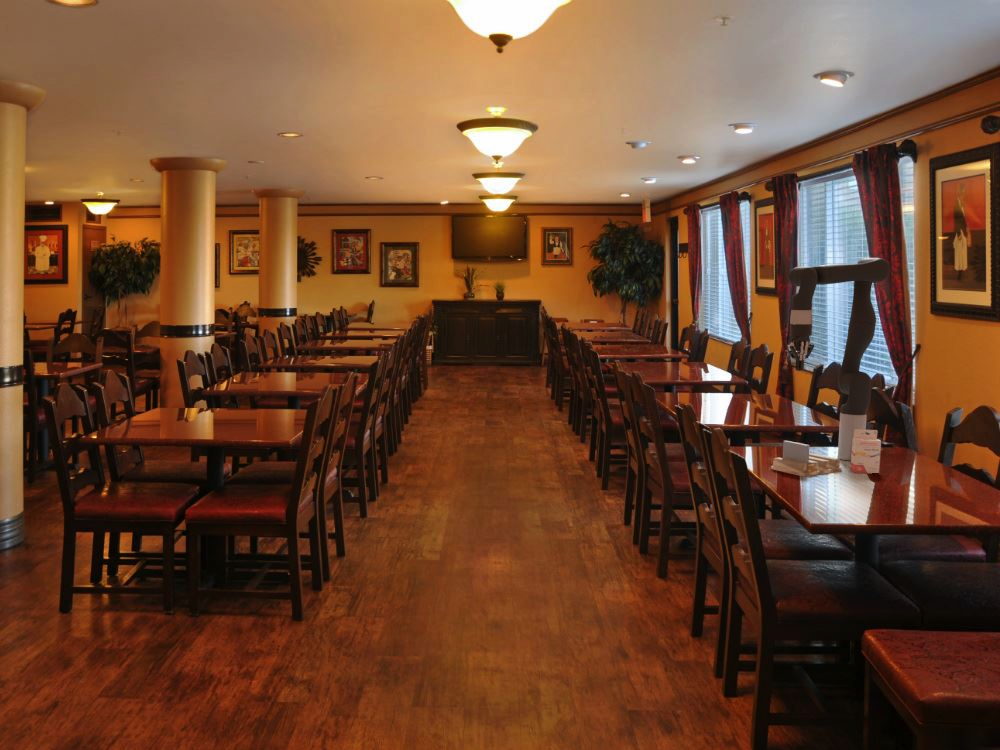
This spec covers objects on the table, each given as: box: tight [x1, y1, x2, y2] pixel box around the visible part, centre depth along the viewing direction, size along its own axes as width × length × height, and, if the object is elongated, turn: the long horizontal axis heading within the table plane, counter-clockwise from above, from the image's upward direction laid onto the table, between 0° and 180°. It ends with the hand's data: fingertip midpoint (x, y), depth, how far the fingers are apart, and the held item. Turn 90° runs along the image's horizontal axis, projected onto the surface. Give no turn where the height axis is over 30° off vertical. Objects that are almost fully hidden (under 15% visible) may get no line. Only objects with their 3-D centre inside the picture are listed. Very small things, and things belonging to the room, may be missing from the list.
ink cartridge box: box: [850, 429, 882, 474], centre depth 321 cm, size 9×5×15 cm, turn 84°
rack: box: [770, 453, 843, 477], centre depth 324 cm, size 20×14×4 cm
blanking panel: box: [782, 440, 810, 471], centre depth 320 cm, size 2×10×9 cm, turn 32°
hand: (799, 370), depth 333 cm, fingers closed
